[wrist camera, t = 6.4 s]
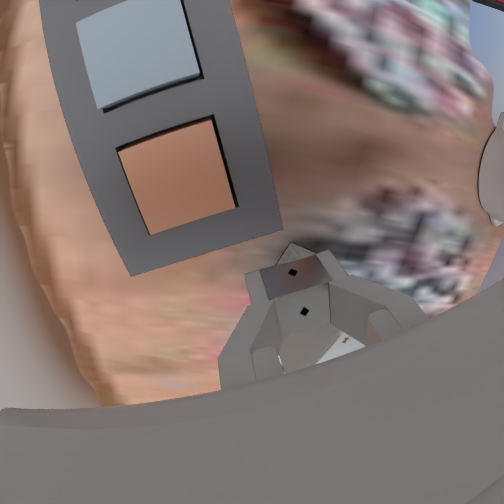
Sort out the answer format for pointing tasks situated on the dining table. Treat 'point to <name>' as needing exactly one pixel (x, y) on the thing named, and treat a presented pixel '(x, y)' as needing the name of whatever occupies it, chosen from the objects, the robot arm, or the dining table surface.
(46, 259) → the dining table surface
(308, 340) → the supplement box
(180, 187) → the terracotta key
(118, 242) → the key console
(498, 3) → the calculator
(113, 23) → the slate key
